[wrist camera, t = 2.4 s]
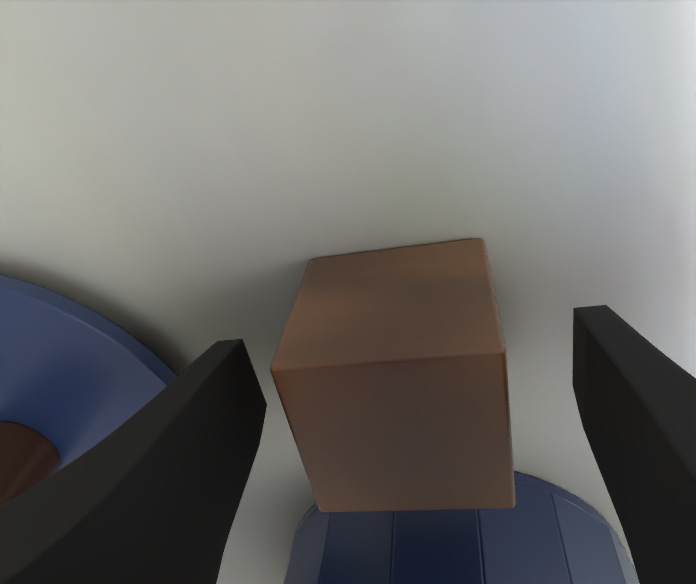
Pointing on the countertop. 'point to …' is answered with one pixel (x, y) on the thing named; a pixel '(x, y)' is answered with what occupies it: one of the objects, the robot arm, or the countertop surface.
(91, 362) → the tin lid
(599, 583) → the tin
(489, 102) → the countertop surface
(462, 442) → the walnut block
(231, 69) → the countertop surface
